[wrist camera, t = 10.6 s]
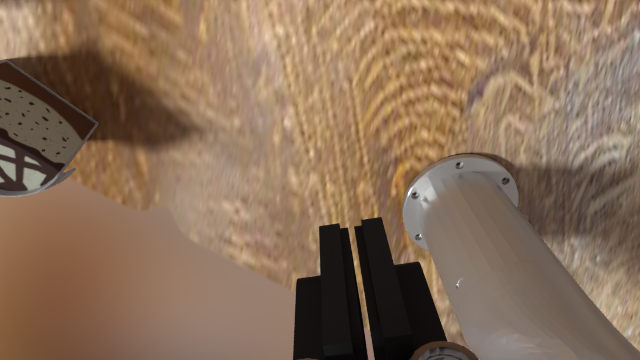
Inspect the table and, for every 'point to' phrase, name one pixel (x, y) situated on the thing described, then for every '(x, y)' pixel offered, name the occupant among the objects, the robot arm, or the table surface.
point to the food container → (36, 133)
